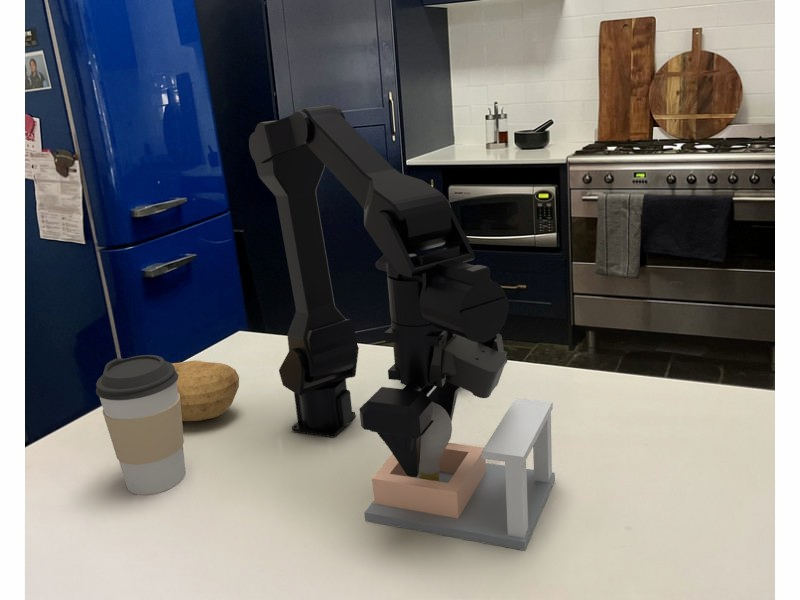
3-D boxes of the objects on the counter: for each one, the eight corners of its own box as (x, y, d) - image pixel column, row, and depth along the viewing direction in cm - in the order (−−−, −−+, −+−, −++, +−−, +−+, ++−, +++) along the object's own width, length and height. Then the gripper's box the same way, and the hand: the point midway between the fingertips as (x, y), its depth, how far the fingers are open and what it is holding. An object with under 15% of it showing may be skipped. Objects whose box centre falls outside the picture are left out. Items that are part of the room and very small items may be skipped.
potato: (167, 401, 113) (158, 350, 111) (255, 404, 110) (247, 352, 108) (130, 432, 104) (119, 378, 102) (225, 436, 101) (216, 381, 99)
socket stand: (365, 520, 80) (356, 436, 77) (412, 459, 92) (406, 384, 89) (525, 550, 74) (522, 459, 71) (555, 480, 85) (553, 399, 82)
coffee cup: (209, 463, 94) (190, 350, 90) (165, 504, 86) (142, 381, 82) (148, 456, 97) (126, 346, 93) (100, 495, 89) (73, 376, 85)
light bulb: (452, 503, 80) (446, 415, 77) (401, 501, 81) (393, 414, 78) (458, 476, 85) (453, 393, 82) (410, 474, 86) (403, 392, 84)
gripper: (465, 358, 66) (473, 514, 71) (521, 293, 83) (525, 424, 87) (350, 348, 71) (365, 496, 76) (424, 288, 87) (433, 413, 92)
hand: (429, 454), depth 82 cm, fingers open, 9 cm apart
